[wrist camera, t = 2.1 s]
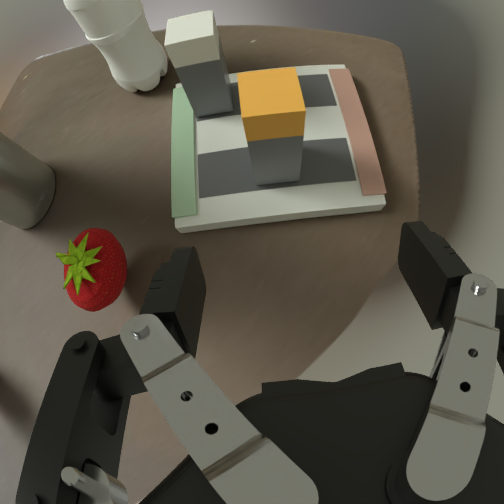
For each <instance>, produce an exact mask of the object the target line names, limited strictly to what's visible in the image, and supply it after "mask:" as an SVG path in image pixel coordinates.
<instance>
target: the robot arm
mask: <svg viewBox="0 0 504 504" xmlns="http://www.w3.org/2000/svg"><path fill="white" fill-rule="evenodd" d="M54 192H55V176H54V173H53V171H52V169H51V168H50V167H49V166H47V165H46V164H44V163H43V162H42V161H40V160H39V159H37V158H36V157H34V156H33V155H32V154H30V153H29V152H28V151H26V150H25V149H23V148H22V147H21V146H19V145H18V144H16V143H15V142H14V141H12V140H11V139H9V138H8V137H7V136H5V135H4V134H3V133H1V132H0V221H3V222H5V223H8V224H10V225H13V226H15V227H18V228H21V229H28V228H31V227H33V226H34V225H36V224H37V223H38V222H39V221H40V220H41V219H42V218H43V216H44V215H45V214H46V212H47V210H48V209H49V207H50V204H51V202H52V199H53V196H54ZM398 264H399V269H400V271H401V273H402V275H403V277H404V279H405V280H406V282H407V284H408V286H409V287H410V289H411V291H412V293H413V295H414V297H415V298H416V300H417V302H418V304H419V306H420V308H421V310H422V311H423V313H424V315H425V317H426V319H427V321H428V323H429V325H430V327H431V329H432V330H433V329H438V328H442V327H443V329H444V330H445V331H444V334H443V336H442V340H441V343H440V346H439V349H438V353H437V356H436V359H435V362H434V365H433V368H432V371H431V374H430V376H429V377H428V376H425V375H422V374H418V373H412V372H404V369H403V366H402V364H401V362H400V363H395V364H391V365H386V366H382V367H376V368H370V369H367V370H365V371H363V372H360V373H358V374H356V375H353V376H351V377H348V378H346V379H343V380H341V381H338V382H322V381H309V380H299V379H297V380H287V381H277V382H266V383H262V393H260V394H257V395H254V396H252V397H250V398H247V399H246V400H244V401H242V402H240V403H239V404H237V405H236V406H234V405H233V403H232V402H231V401H230V400H229V399H228V398H227V397H226V396H225V394H224V393H223V392H222V391H221V390H220V389H219V388H218V386H217V385H216V384H215V383H214V382H213V381H212V379H211V378H210V377H209V376H208V375H207V374H206V372H205V371H204V370H203V369H202V368H201V366H200V365H199V364H198V363H197V362H196V360H195V356H196V350H197V344H198V337H199V331H200V325H201V319H202V313H203V307H204V301H205V295H206V285H205V279H204V276H203V272H202V268H201V265H200V261H199V258H198V254H197V251H196V248H195V247H194V246H192V247H184V248H176V249H175V250H174V252H173V255H172V257H171V260H170V262H167V263H163V264H162V265H161V266H160V267H159V268H158V269H157V270H156V271H155V274H154V276H153V279H152V283H151V284H150V287H149V290H148V292H147V294H146V297H145V300H144V302H143V305H142V308H141V311H140V313H139V315H138V316H135V317H133V318H131V319H130V320H128V321H127V322H126V323H125V324H124V326H123V327H122V329H121V332H120V334H119V335H117V336H113V337H110V338H106V339H103V340H100V341H99V339H98V337H97V336H96V334H94V333H93V332H90V331H83V332H79V333H77V334H75V335H73V336H72V337H71V338H70V339H69V340H68V341H67V342H66V343H65V345H64V347H63V349H62V352H61V354H60V357H59V359H58V362H57V364H56V367H55V369H54V372H53V374H52V377H51V380H50V382H49V385H48V388H47V390H46V393H45V396H44V399H43V402H42V405H41V408H40V411H39V414H38V417H37V420H36V423H35V426H34V429H33V432H32V436H31V439H30V443H29V446H28V450H27V453H26V457H25V461H24V465H23V469H22V473H21V477H20V481H19V486H18V490H17V495H16V504H128V495H127V491H126V488H125V487H124V485H123V484H122V483H121V482H120V481H119V480H117V476H118V469H119V462H120V455H121V449H122V443H123V436H124V431H125V425H126V419H127V414H128V409H129V403H130V398H131V395H135V394H138V393H142V392H146V391H148V392H149V393H150V395H151V397H152V398H153V400H154V402H155V403H156V405H157V406H158V408H159V410H160V411H161V413H162V414H163V416H164V418H165V419H166V421H167V422H168V424H169V425H170V427H171V428H172V430H173V431H174V433H175V434H176V436H177V437H178V439H179V440H180V442H181V443H182V445H183V446H184V447H185V449H186V450H187V452H188V453H189V454H188V455H187V457H186V458H185V459H184V460H183V461H182V462H181V463H180V464H179V465H178V466H177V467H176V468H175V469H174V470H173V471H172V472H171V473H170V474H169V475H168V476H167V477H166V478H165V479H164V480H163V481H162V482H161V483H160V484H159V485H158V486H157V487H156V488H155V489H154V490H153V491H152V492H150V493H149V494H148V495H147V496H146V497H145V498H144V499H143V500H142V501H141V502H140V503H139V504H504V424H502V423H501V422H499V421H498V420H496V419H495V418H493V417H491V416H490V415H488V414H487V413H486V412H487V408H488V403H489V399H490V394H491V389H492V384H493V378H494V372H495V366H496V359H497V361H498V363H499V365H500V367H501V369H502V371H503V373H504V289H500V288H496V285H495V284H494V282H493V281H492V280H490V279H489V278H488V277H486V276H484V275H481V274H476V273H472V272H471V271H470V270H469V268H468V267H467V266H466V264H465V263H464V262H463V261H462V259H461V258H460V257H459V256H458V254H456V252H455V251H454V250H453V248H451V246H450V245H449V244H448V242H447V241H446V240H445V239H444V238H443V237H441V236H439V235H438V234H436V233H435V232H431V231H430V230H429V229H428V228H427V226H426V225H425V224H424V223H423V222H422V221H416V222H407V223H403V225H402V229H401V238H400V246H399V254H398Z"/></svg>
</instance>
